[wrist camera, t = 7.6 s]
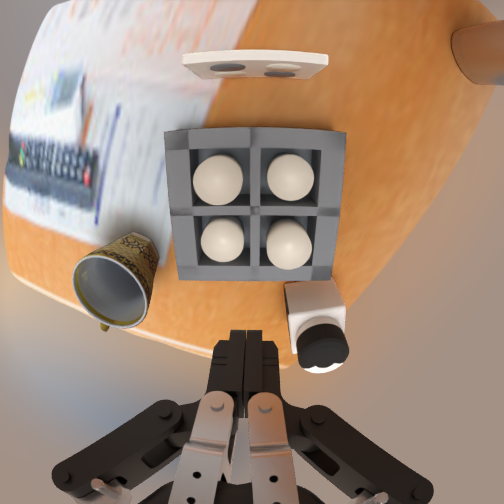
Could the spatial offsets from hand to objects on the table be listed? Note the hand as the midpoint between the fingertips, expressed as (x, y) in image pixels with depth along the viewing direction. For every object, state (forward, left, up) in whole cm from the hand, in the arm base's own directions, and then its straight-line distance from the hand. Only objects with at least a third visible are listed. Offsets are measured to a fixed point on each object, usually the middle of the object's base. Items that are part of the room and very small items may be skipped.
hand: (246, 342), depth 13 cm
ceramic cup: (+17, +8, -23) cm, 29 cm away
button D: (+3, +3, -20) cm, 21 cm away
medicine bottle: (-8, +14, -23) cm, 28 cm away
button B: (-4, +3, -19) cm, 19 cm away
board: (0, -1, -23) cm, 23 cm away
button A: (-4, -4, -20) cm, 21 cm away
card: (0, -16, -23) cm, 28 cm away
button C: (+3, -4, -19) cm, 19 cm away
